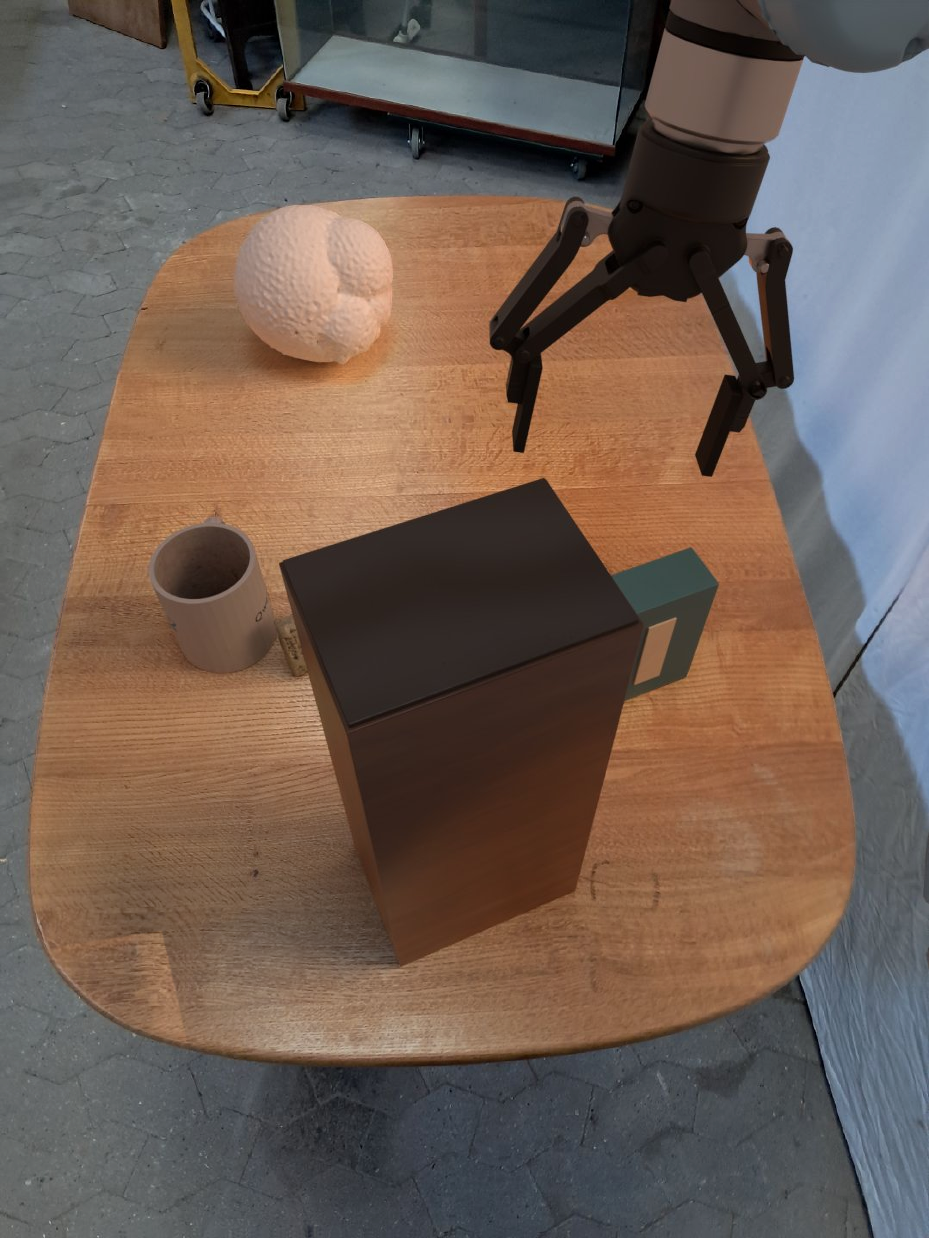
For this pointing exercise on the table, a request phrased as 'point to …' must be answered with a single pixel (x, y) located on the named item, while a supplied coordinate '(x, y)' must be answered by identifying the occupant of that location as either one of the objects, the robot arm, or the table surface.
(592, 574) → the pedestal
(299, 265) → the decorative orb
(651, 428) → the table surface
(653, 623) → the teal box
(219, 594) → the mug
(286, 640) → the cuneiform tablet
